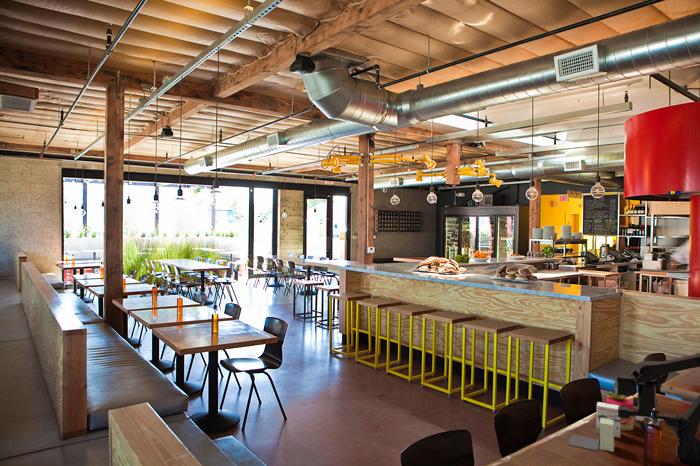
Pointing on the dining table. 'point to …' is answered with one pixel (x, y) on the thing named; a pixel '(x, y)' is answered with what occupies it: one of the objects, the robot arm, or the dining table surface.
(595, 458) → the dining table surface
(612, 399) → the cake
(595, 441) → the bar mat
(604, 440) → the block
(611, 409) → the ink box
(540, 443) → the dining table surface
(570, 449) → the dining table surface
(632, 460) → the dining table surface
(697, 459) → the robot arm
